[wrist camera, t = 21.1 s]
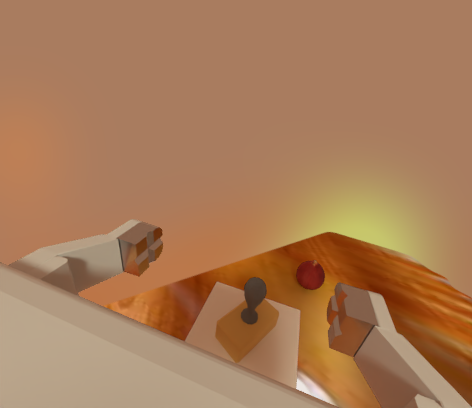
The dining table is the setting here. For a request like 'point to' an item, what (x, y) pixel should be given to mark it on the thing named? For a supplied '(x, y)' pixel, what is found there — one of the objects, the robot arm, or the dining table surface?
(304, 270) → the onion
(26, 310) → the robot arm
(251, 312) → the rubber stamp
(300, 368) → the dining table surface
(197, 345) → the paper
